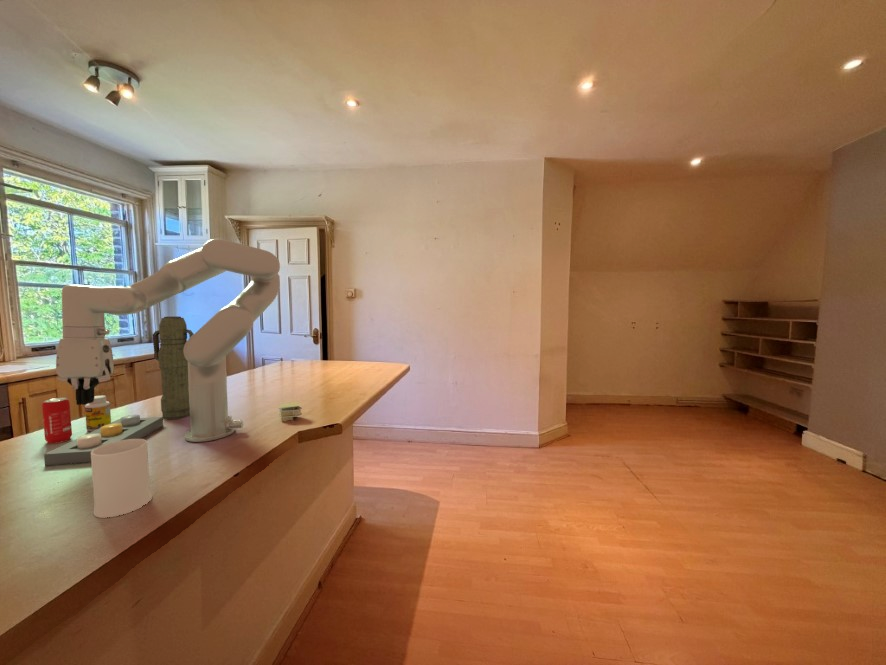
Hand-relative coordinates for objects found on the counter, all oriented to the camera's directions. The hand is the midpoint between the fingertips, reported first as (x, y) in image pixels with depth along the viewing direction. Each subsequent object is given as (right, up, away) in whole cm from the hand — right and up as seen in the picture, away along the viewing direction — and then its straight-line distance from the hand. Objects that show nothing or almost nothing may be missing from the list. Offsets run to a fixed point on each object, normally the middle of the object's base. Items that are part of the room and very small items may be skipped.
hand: (85, 403), depth 90 cm
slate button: (-2, -11, +16) cm, 19 cm away
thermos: (-1, -11, +32) cm, 34 cm away
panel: (-1, -13, +8) cm, 15 cm away
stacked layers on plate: (+41, -12, +30) cm, 52 cm away
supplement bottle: (-15, -12, +19) cm, 27 cm away
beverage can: (-17, -13, +9) cm, 23 cm away
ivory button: (+1, -12, 0) cm, 12 cm away
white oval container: (+29, -16, -20) cm, 39 cm away
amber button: (-1, -11, +8) cm, 14 cm away
